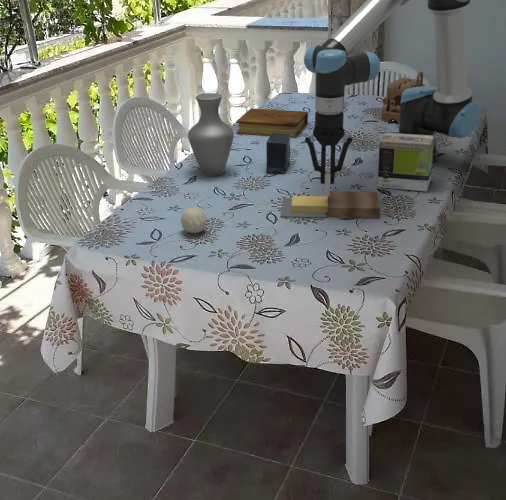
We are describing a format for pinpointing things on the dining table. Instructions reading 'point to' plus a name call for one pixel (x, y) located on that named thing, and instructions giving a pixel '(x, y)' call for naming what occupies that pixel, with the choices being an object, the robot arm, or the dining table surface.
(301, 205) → the yellow block
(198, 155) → the vase
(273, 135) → the small box
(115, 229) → the dining table surface
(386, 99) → the wooden puzzle
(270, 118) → the diary
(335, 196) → the brown flat block
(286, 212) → the mat
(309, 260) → the dining table surface
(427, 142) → the tea box
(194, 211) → the baseball
